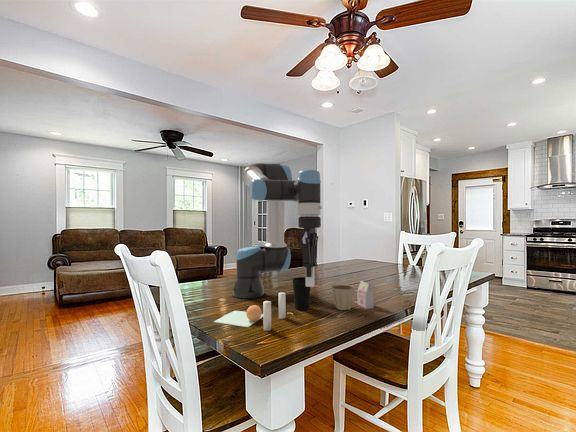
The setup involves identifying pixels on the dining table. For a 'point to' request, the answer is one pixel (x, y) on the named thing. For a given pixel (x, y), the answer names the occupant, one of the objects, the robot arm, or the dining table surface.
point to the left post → (267, 315)
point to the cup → (301, 293)
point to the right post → (282, 305)
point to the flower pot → (343, 296)
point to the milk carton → (365, 296)
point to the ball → (254, 313)
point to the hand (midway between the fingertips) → (310, 286)
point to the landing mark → (236, 319)
